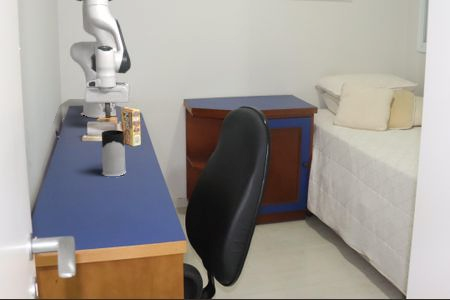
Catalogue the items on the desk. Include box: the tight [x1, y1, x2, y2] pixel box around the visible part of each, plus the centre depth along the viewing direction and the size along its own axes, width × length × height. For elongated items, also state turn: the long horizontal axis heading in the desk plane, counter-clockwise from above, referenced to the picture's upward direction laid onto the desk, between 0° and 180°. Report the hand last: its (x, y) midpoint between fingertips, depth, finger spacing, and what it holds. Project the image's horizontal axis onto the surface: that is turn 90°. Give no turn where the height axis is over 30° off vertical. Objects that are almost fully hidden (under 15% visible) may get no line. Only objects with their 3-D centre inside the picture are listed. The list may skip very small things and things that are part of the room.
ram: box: [96, 103, 119, 129], centre depth 248 cm, size 6×8×12 cm
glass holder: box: [101, 130, 127, 176], centre depth 190 cm, size 9×14×15 cm, turn 15°
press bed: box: [81, 121, 122, 142], centre depth 245 cm, size 24×16×8 cm, turn 1°
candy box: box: [120, 106, 142, 147], centre depth 228 cm, size 9×4×15 cm, turn 44°
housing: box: [96, 118, 111, 122], centre depth 241 cm, size 4×5×6 cm
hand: (107, 112), depth 249 cm, fingers closed on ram, 2 cm apart
